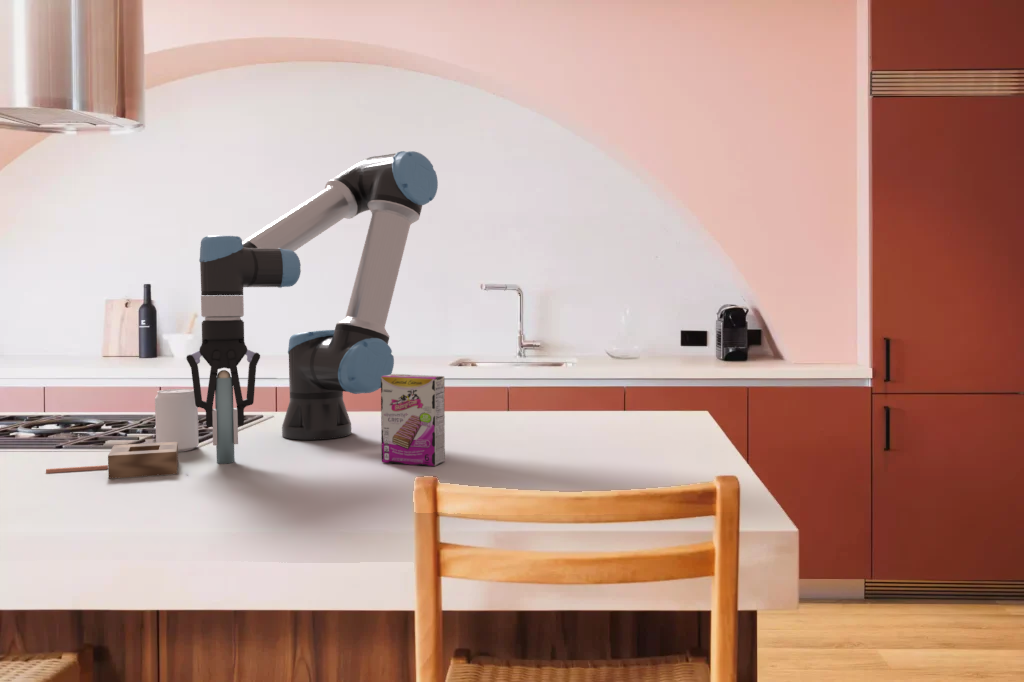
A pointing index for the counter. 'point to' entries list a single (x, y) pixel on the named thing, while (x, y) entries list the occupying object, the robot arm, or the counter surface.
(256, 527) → the counter surface
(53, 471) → the copper rod
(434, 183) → the robot arm
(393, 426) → the candy bar box
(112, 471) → the wooden block with hole
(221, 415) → the grey-green rod
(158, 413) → the beverage can
